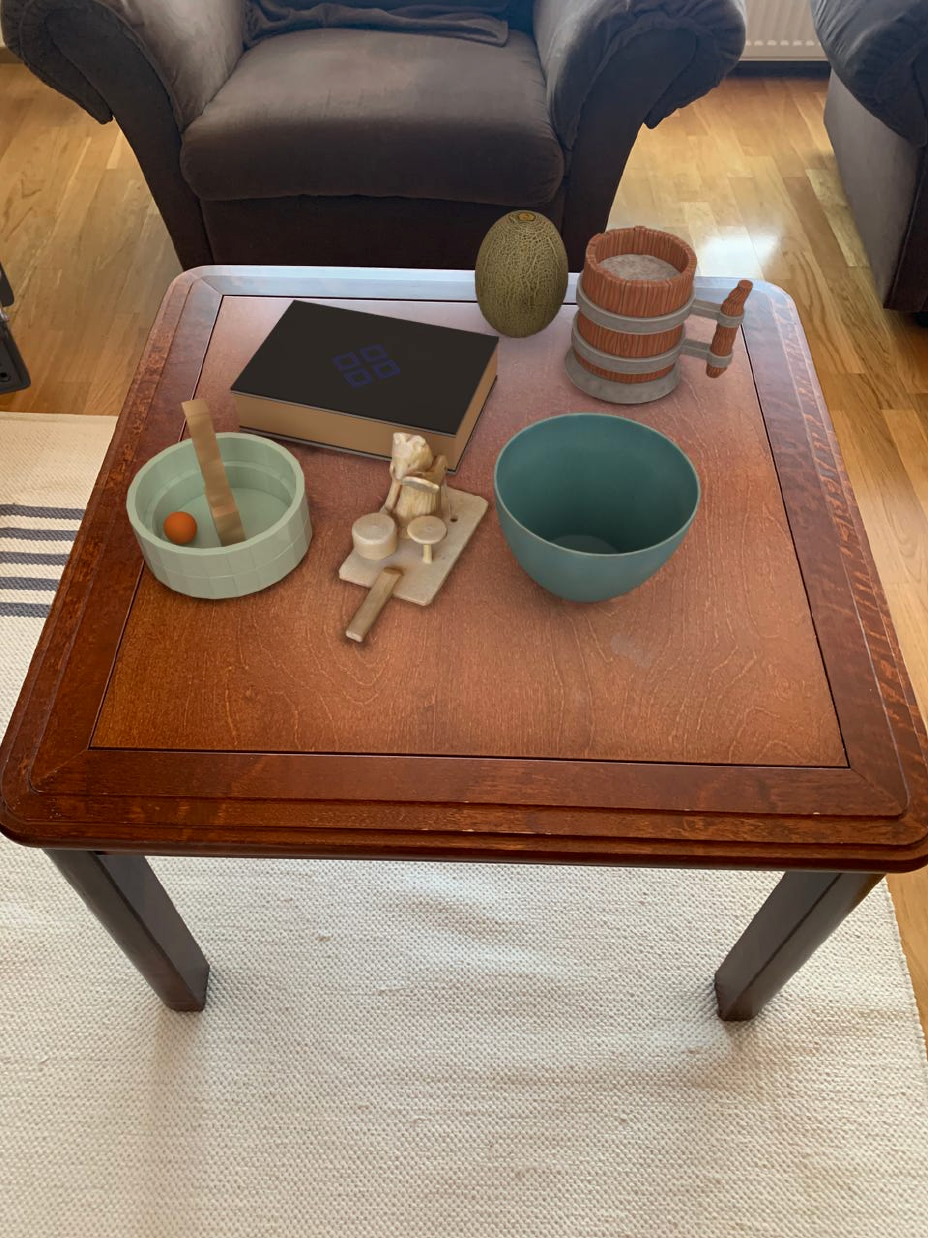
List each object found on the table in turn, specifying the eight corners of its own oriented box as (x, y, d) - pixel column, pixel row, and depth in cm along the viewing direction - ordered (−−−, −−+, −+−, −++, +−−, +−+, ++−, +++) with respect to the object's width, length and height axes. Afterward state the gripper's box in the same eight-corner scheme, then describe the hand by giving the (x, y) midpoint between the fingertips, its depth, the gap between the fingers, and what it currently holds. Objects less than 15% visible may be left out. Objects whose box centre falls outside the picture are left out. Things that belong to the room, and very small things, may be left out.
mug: (583, 325, 116) (598, 209, 104) (734, 361, 112) (768, 245, 100) (547, 389, 108) (559, 272, 96) (709, 431, 104) (741, 313, 92)
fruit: (567, 356, 112) (580, 240, 100) (475, 357, 112) (477, 241, 100) (557, 303, 119) (569, 189, 107) (471, 304, 119) (473, 189, 107)
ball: (188, 554, 91) (156, 543, 90) (198, 532, 93) (167, 521, 92) (194, 533, 88) (161, 522, 88) (204, 511, 91) (172, 500, 90)
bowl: (164, 625, 86) (144, 575, 80) (132, 508, 95) (112, 457, 90) (334, 574, 90) (326, 524, 84) (287, 467, 99) (277, 415, 94)
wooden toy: (406, 475, 99) (400, 370, 88) (494, 505, 96) (499, 399, 85) (298, 621, 86) (276, 518, 76) (395, 659, 84) (387, 559, 73)
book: (301, 347, 113) (293, 298, 108) (497, 384, 109) (499, 335, 103) (240, 436, 102) (229, 387, 97) (455, 481, 98) (455, 433, 93)
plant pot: (667, 509, 96) (691, 416, 86) (682, 649, 84) (711, 560, 75) (493, 500, 96) (497, 407, 87) (485, 638, 85) (488, 548, 75)
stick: (223, 553, 90) (186, 425, 78) (213, 522, 93) (175, 394, 80) (247, 546, 91) (214, 418, 78) (236, 516, 94) (202, 387, 81)
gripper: (-227, -16, 43) (-72, 294, 56) (-244, 108, 35) (-58, 437, 48) (-57, -35, 45) (55, 269, 58) (-36, 78, 37) (90, 403, 50)
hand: (4, 345), depth 53 cm, fingers open, 8 cm apart
